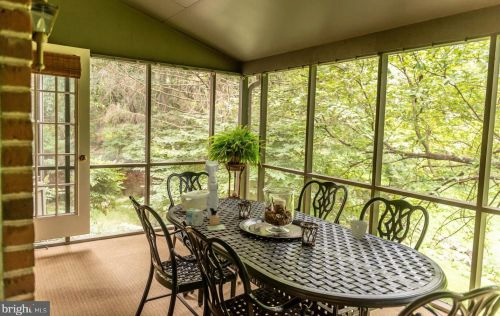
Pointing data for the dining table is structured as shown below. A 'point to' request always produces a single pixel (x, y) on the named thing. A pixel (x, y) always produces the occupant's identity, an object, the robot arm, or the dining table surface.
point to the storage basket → (194, 200)
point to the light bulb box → (194, 217)
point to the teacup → (358, 228)
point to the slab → (214, 220)
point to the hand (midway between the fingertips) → (213, 218)
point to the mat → (215, 227)
